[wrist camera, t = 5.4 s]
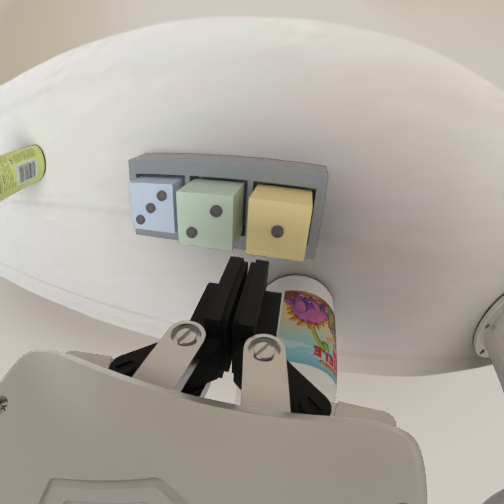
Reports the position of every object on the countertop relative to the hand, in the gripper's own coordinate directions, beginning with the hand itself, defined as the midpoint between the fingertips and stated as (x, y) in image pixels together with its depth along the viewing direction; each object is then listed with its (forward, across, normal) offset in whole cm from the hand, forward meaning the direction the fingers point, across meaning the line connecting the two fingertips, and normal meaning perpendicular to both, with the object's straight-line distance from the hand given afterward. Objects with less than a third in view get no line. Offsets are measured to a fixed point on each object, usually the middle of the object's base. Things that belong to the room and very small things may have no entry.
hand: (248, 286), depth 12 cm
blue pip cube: (+12, +9, 0) cm, 15 cm away
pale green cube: (+10, +4, 0) cm, 11 cm away
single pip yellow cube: (+10, -1, 0) cm, 10 cm away
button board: (+13, +4, 0) cm, 13 cm away
